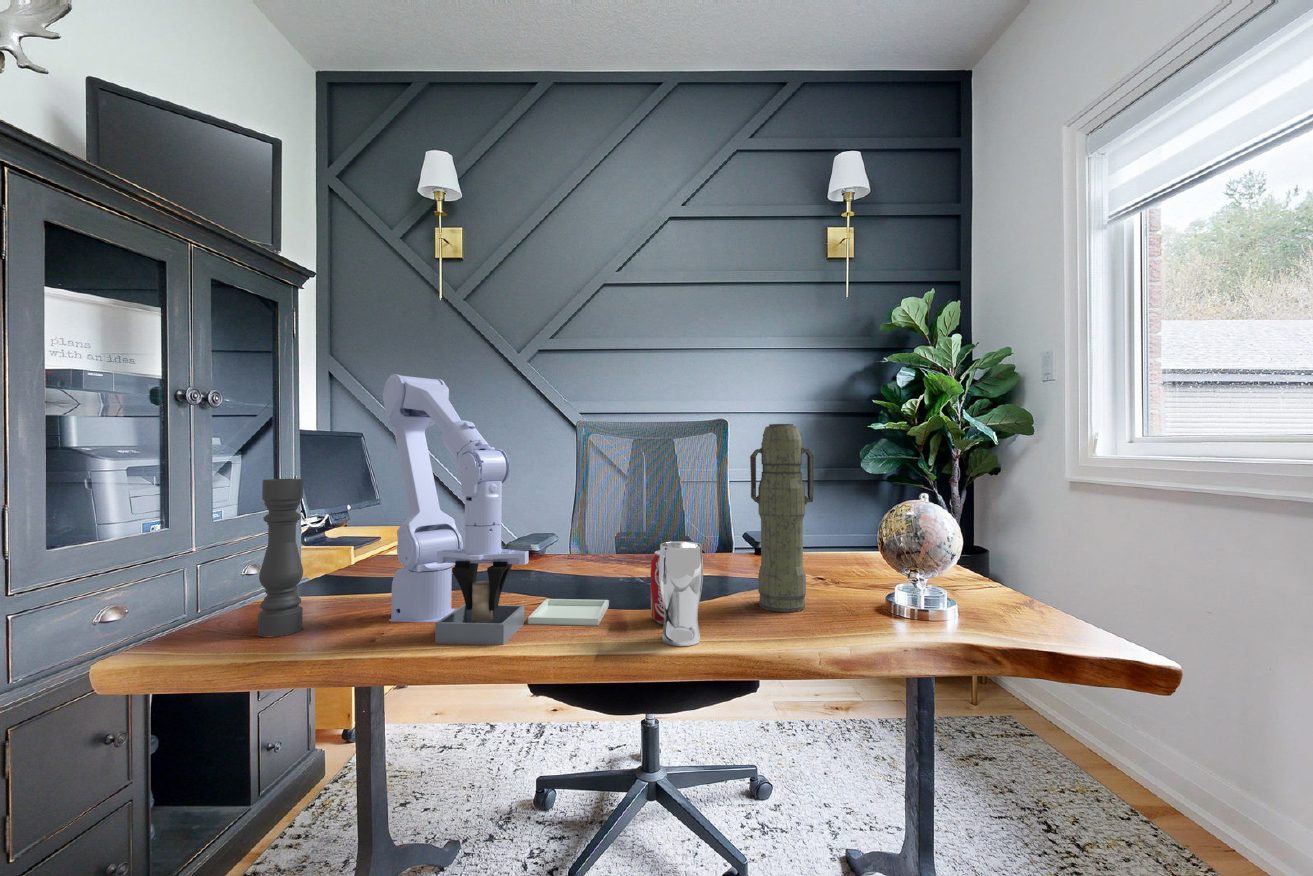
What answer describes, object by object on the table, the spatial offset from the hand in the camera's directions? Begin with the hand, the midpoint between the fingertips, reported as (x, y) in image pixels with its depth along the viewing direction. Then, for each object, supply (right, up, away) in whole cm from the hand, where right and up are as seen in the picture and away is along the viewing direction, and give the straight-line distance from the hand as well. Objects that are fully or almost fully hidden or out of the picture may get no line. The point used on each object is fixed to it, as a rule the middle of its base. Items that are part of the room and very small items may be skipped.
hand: (482, 608), depth 91 cm
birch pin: (0, -2, 0) cm, 2 cm away
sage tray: (+13, -5, +10) cm, 17 cm away
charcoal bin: (0, -4, 0) cm, 4 cm away
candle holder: (-34, -5, +2) cm, 34 cm away
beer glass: (+32, -5, -2) cm, 32 cm away
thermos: (+52, -5, +18) cm, 55 cm away
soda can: (+31, -5, +8) cm, 32 cm away
